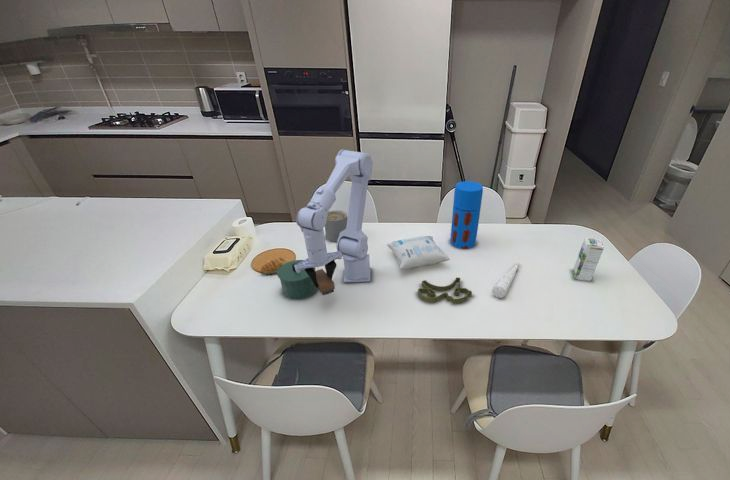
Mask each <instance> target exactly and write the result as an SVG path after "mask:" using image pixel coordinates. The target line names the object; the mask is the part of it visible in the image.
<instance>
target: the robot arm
mask: <svg viewBox="0 0 730 480" xmlns="http://www.w3.org/2000/svg"><path fill="white" fill-rule="evenodd" d="M334 159H335V160H334V161H335V163H334V164H335V165H334V168H333V170H332V172H331V173H330V176H329V177H328V179H327V181H326V183H325V185H324V186H320V187H318V188H317V190H316V191H315V192H314V194H313V196H312V197H311V199H310V200H309V202H308V203H307V205H306V206H304V207H302V208H300V209H299V210H298V212H297V213H296V220H295V222H296V225H297V226H298V227H299V228H300V231H301V232H302V235H303V238H304V243H305V248H306V253H307V258H306V259H303V260H304V261H302V262H300V263H298V264H296V265H294V266H295V270H296V272H297V273H300V272H301V271H302V270H305V271H306V273H307V274H308V275H309V276H310V278H311V280H312V282H313V285H314V286H315V287H316V288H317V287H318V284H317V280H316V272H315V271H316V270H315V271H314V269H313V267H315V268H321V267H324V269H325V273H326V274H327V275H328V276H329V277H330V278H331V280H332V281H333V276H334V272H335V270H336V268H337V262H336V260H342V261H343V267H344V276H343V283H364V282H371V273H372V267H371V262H370V260H371V259H370V254H369V253H368V251H369V245H368V244H369V243H368V239H369V237H368V236H367V234H366V233H364V232H363V230H362V229H363V221H364V214H365V207H366V199H367V194H368V193H367V191H368V186H369V185H368V184H369V181H371V177H372V171H373V165H374V161H373V159H372V156H371V155H370V154H369V153H368V152H361V151H353V150H349V149H348V150H347V149H346V148H345V149H344V148H342V149H341V150H340V149H339V151H338V153H337V154H336V156H335V158H334ZM348 178H349V180H350V181H351V187H350V194H349V203H348V211H347V217H348V218H347V226H346V229H345V230H343V231H342V232H340V235H339V239H338V241H337V242H336V244H335V245H336V250H337V251H332V252H328V249H327V243H326V235H325V231H324V230H325V224H326V219H327V216H328V214H327V213H328V212H329V211H331V208H332V207H333V205H334V203H335V202H336V200H337V196H336V193H337V192H338V190H340V188H341V186H342V185H343V184H344V183H345V182H346V180H347V179H348ZM317 289H318V288H317Z"/></svg>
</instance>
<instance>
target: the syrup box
mask: <svg viewBox="0 0 730 480" xmlns="http://www.w3.org/2000/svg"><path fill="white" fill-rule="evenodd" d="M582 241H583V242H582V244H581V246H580V249H579V252H578V255H577V258H576V260H575V263H574V266H573V269H572V273H573V277H574V279H575V280H580V281H588V282H591V281H592V278H593V277H594V275H595V271H596V269H597V266H598V264H599V261H600V259H601V256H602V255H603V253H604V249H605V246H604V243H603V242H602V240H601V239H598V238H592V237H584V239H583V240H582Z"/></svg>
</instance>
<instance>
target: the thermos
mask: <svg viewBox="0 0 730 480" xmlns="http://www.w3.org/2000/svg"><path fill="white" fill-rule="evenodd" d="M453 191H454V193H453V204H452V215H451V228H450V245H452V246H453V247H455V248H456V249H461V250H469V249H472V248H474V247H475V245H476V242H477V237H478V230H479V223H480V216H481V215H480V214H481V207H482V200H483V193H484V187H483V184H481V183H479V182H477V181H470V180H469V181H468V180H465V181H464V180H463V181H459V182H457V183H456V184H455V186H454V190H453Z"/></svg>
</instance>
